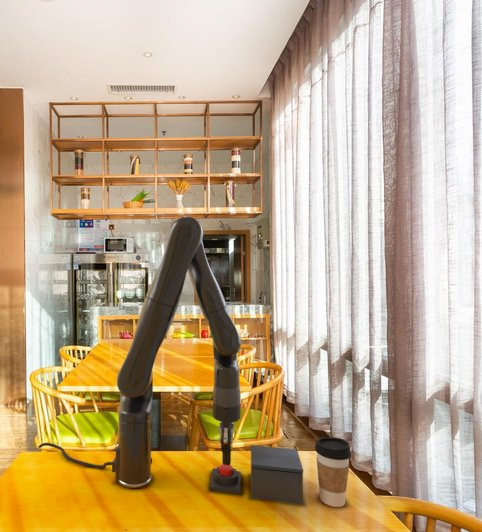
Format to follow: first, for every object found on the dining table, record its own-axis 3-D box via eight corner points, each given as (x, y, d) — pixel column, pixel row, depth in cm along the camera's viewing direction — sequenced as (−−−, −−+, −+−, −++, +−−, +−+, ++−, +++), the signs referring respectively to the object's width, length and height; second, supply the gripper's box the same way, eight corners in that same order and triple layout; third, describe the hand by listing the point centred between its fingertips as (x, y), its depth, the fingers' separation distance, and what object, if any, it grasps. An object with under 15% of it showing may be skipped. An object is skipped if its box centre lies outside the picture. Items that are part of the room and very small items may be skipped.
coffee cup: (354, 512, 97) (355, 450, 97) (317, 507, 98) (318, 447, 98) (345, 493, 105) (346, 436, 105) (311, 489, 107) (312, 433, 107)
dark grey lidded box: (302, 504, 100) (302, 473, 100) (251, 498, 102) (251, 468, 102) (296, 480, 111) (297, 452, 111) (250, 475, 114) (250, 447, 114)
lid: (303, 473, 99) (303, 470, 99) (251, 467, 101) (251, 464, 101) (297, 452, 111) (297, 449, 111) (250, 447, 114) (250, 444, 114)
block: (209, 491, 105) (209, 479, 105) (212, 472, 115) (212, 461, 115) (240, 495, 104) (240, 483, 104) (241, 475, 113) (241, 464, 113)
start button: (218, 476, 108) (218, 469, 108) (219, 469, 112) (219, 463, 112) (232, 477, 107) (232, 471, 107) (232, 470, 111) (232, 464, 111)
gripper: (214, 392, 117) (214, 451, 117) (210, 408, 104) (210, 474, 104) (240, 394, 115) (240, 454, 115) (240, 410, 102) (240, 477, 102)
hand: (226, 463), depth 109 cm, fingers closed
